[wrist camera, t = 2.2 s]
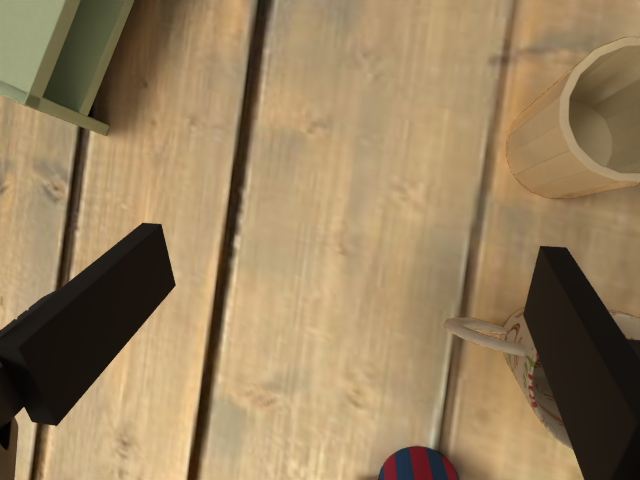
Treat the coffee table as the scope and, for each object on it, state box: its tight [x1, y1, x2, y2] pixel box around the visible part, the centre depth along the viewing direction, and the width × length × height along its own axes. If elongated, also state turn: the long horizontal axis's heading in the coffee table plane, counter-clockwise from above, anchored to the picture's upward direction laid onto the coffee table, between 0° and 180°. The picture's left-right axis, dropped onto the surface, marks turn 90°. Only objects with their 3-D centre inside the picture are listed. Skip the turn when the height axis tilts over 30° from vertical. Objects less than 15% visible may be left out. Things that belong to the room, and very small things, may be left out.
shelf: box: [0, 0, 135, 136], centre depth 34 cm, size 16×12×9 cm
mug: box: [444, 307, 640, 449], centre depth 29 cm, size 8×13×10 cm, turn 78°
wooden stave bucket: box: [506, 37, 640, 198], centre depth 28 cm, size 8×8×10 cm
